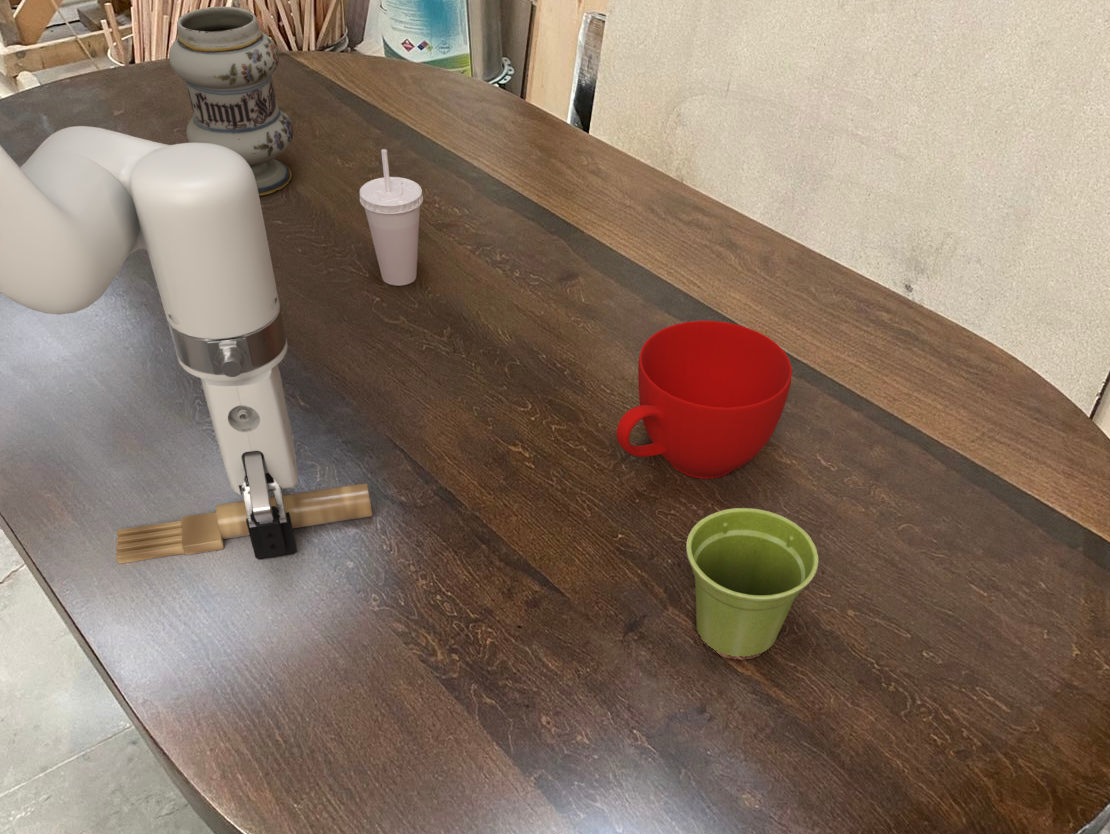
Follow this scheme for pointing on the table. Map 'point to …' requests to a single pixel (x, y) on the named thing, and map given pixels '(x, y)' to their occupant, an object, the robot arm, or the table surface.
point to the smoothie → (393, 224)
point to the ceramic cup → (707, 396)
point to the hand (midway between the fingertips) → (272, 517)
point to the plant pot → (747, 576)
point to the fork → (238, 523)
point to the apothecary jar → (233, 89)
